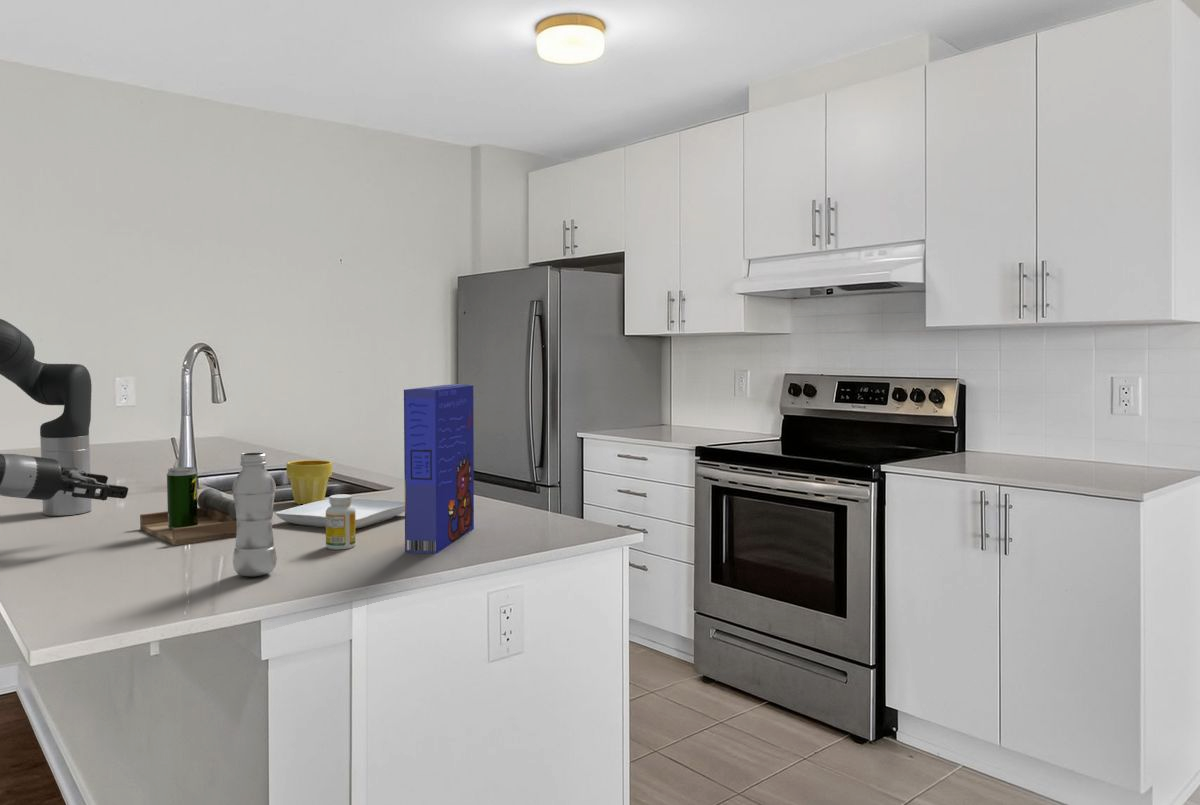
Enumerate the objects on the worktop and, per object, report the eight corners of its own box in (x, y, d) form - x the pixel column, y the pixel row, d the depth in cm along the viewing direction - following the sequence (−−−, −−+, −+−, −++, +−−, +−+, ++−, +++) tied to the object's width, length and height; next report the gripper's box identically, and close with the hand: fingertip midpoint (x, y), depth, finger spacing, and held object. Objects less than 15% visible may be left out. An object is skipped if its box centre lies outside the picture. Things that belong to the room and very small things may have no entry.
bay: (140, 529, 174) (139, 495, 173) (220, 518, 185) (219, 486, 185) (175, 545, 160) (174, 508, 159) (259, 533, 171) (258, 498, 170)
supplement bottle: (334, 551, 156) (333, 499, 155) (320, 546, 160) (320, 495, 159) (361, 546, 160) (360, 496, 159) (347, 542, 163) (347, 492, 163)
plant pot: (339, 499, 209) (338, 459, 209) (321, 507, 199) (321, 465, 199) (298, 498, 210) (298, 459, 210) (279, 505, 200) (278, 464, 200)
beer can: (169, 532, 166) (168, 471, 166) (166, 527, 171) (164, 468, 170) (200, 529, 169) (198, 469, 169) (195, 524, 174) (194, 466, 173)
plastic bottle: (240, 570, 142) (238, 451, 141) (282, 570, 143) (280, 451, 141) (227, 581, 136) (224, 456, 134) (270, 580, 136) (268, 456, 135)
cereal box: (446, 527, 177) (445, 383, 175) (473, 528, 176) (473, 384, 174) (405, 552, 156) (403, 388, 154) (436, 553, 155) (435, 388, 153)
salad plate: (272, 527, 179) (271, 510, 178) (338, 509, 198) (338, 494, 198) (355, 536, 171) (354, 519, 170) (415, 516, 190) (415, 501, 190)
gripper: (47, 466, 147) (139, 477, 160) (14, 447, 155) (105, 459, 169) (34, 508, 147) (127, 515, 160) (1, 486, 155) (93, 496, 168)
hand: (116, 486), depth 164 cm, fingers open, 8 cm apart
